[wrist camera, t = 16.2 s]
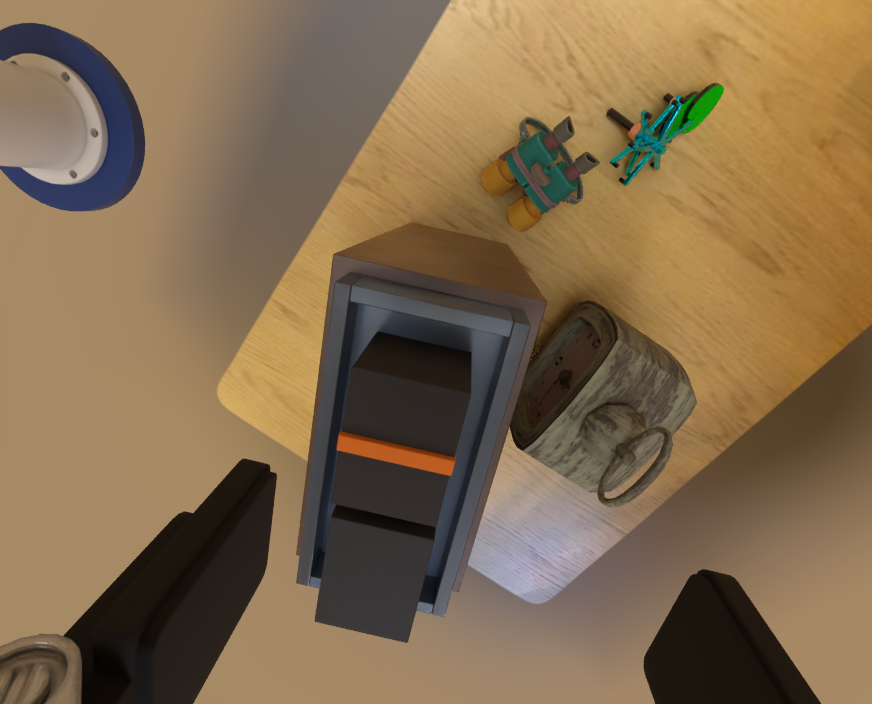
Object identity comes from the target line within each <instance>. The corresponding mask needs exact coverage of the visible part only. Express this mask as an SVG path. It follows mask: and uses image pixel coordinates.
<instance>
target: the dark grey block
mask: <svg viewBox="0 0 872 704" xmlns="http://www.w3.org/2000/svg"><path fill="white" fill-rule="evenodd" d="M435 533H436V527H433V526H429V525H425V524H420V523H416V522H412V521H407V520H403V519H398V518H394V517H390V516H385V515H381V514H377V513H372V512H368V511H363V510H359V509H355V508H350V507H346V506H342V505H337V504H336V506H335V508H334V510H333V513H332V515H331V518H330V524H329V531H328V537H327V544H326V550H325V557H324V563H323V570H322V576H321V583H320V589H319V596H318V602H317V609H316V615H315V622H319V623H323V624H327V625H332V626H336V627H340V628H345V629H349V630H354V631H358V632H362V633H366V634H371V635H375V636H379V637H384V638H389V639H392V640H397V641H401V642H406V643H407V642H408V639H409V636H410V632H411V628H412V624H413V621H414V617H415V613H416V609H417V605H418V602H419V598H420V594H421V590H422V587H423V583H424V579H425V575H426V571H427V568H428V564H429V560H430V556H431V553H432V549H433V545H434V541H435Z"/></svg>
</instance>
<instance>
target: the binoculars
mask: <svg viewBox="0 0 872 704" xmlns="http://www.w3.org/2000/svg"><path fill="white" fill-rule="evenodd" d="M526 124H530V125H532V126H534V127H536V128H538V129H539V130H540V131H542V132H537V133H536V134H534V135H533V136H532V137H530V135H529V134H528V131H527V128H526ZM519 128H520V136H521V138H520V142H519V143H518V146H517V147H513V148H511V149H510V150H508V151H507V152H505V153H504V154H502V155H501V156H500V157H499V159H497V160H496V161H495V162H493V163H492V164H491V165H490V166H488V167H487V168H486V169H484V170H483V172H482V175H481V180H482V184H483V186H484V188H485V189H486V190H487V192H489V193H490V194H491V195H493V196H501V195H503V194H504V193H505V192H506V191H507V190H508V189H509V188H510V187H511V186H513V185H514V184H515V182H519V184H520V185H521V186H522V187H523V186H524V191H523V197H522V198H521V199H519V200H518V201H516V202H514V203H513V204H511V205H510V206H509V208H508V219H509V221H510V223H511V225H512V226H513V227H514V228H515V229H517V230H518V231H526V230H528V229H529V228H530V227H532V226H533V225H534V224H535V223H537V222H538V221H539V220H540V219H541V215H542V214H543V213H544V212H548V211H549V210H550V209H551V208H554V207H556V206H557V205H558V204H559V202H561V201H562V202H565V201H566V202H567V203H568V202H569V203H571V204H574V205H575V204H577V203H578V202H580V201H581V200H582V198H583V186H582V181H581V178H580V175H581V174H585V173H587V172H588V171H590V170H591V169H592V168H594V167H595V166H597V165H598V164H600V162H599V161H598V160H597V159H596V158H595V157H594V156H592V155H591V154H590V153H588V152H585V153H583V154H582V155H581V156H579V157H578V158H577V159H575V162H573V160H572V158H571V157H570V155H569V153H568V152H567V150H566V149H565V147H564V146H563V144H562V143H565V142H566V141H567V140H568V139H570V138H571V137H572V136H573V135H574V128H573V125H572V121H571V118H570V116H568V117H567V118H566V119H564V120H563V121H562V122H561V123H560V124H558V125H557V126H556V127H555V128H554V131H553V132H552V131H551V130H550V129H549V128H548V127H547V126H546V125H545V124H543V123H542V122H540V121H539V120H536V119H534V118H531V117H527V118H525V119H524V120H523V121H522V122H521V123H520V125H519ZM521 143H522V144H521ZM555 147H556V148H557V149H556V148H555ZM557 150H558V151H559V152H560V154H561V155H562V157H563V159H564V160H565V162H566V163H565V162H563V161H559V162H558V163H557V164H555V165H554V166H553V167H551V168H550V166H551V165H552V164H553V163H554V161H555V160H556V159H557V158H558V152H557ZM574 190H576V191H577V199H576V198H574V197H573V196H572V195H570V194H571V193H572V192H573V191H574Z"/></svg>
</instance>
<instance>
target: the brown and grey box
mask: <svg viewBox="0 0 872 704" xmlns="http://www.w3.org/2000/svg"><path fill="white" fill-rule="evenodd" d="M546 305H547V301H546V299H545V298H544V297H543V295H542V294H541V292H540V291H539V289H538V288H537V286H536V285H535V284H534V282H533V281H532V279H531V278H530V276H529V275H528V273H527V272H526V271H525V269H524V268H523V266H522V265H521V263H520V262H519V260H518V259H517V258H516V256H515V255H514V253H513V252H512V250H511V249H510V247H509V246H508V245H507V244H504V243H500V242H495V241H491V240H486V239H482V238H477V237H473V236H468V235H464V234H459V233H455V232H450V231H446V230H441V229H437V228H433V227H428V226H424V225H419V224H415V223H408V224H406V225H403V226H401V227H398V228H396V229H394V230H391V231H389V232H386V233H384V234H381V235H379V236H376V237H374V238H372V239H369V240H367V241H364V242H362V243H359V244H357V245H355V246H352V247H350V248H347V249H345V250H342V251H340V252H337V253H335V254H333V261H332V270H331V278H330V286H329V294H328V302H327V310H326V318H325V326H324V334H323V342H322V350H321V358H320V366H319V374H318V382H317V391H316V399H315V407H314V415H313V423H312V431H311V439H310V447H309V455H308V463H307V471H306V480H305V487H304V496H303V504H302V513H301V520H300V528H299V536H298V545H297V552H296V555H298V556H300V558H299V565H298V572H297V581H296V583H298V584H302V585H306V586H311V587H315V588H319V589H320V583H321V576H322V570H323V563H324V557H325V550H326V544H327V537H328V531H329V524H330V518H331V515H332V513H333V510H334V508H335V506H336V504H333V503H331V499H332V492H333V485H334V479H335V472H336V466H337V459H338V453H339V451H338V450H337V442H338V435H339V434H340V432H341V430H342V426H343V420H344V413H345V407H346V400H347V393H348V387H349V380H350V374H351V367H352V366H353V364H354V363H355V362H356V360H357V359H358V357H359V356H360V355H361V353H362V352H363V350H364V349H365V348H366V346H367V345H368V344H369V342H370V341H371V339H372V338H373V337H374V335H375V334H376V332H378V331H379V332H383V333H387V334H392V335H396V336H401V337H405V338H410V339H414V340H418V341H423V342H427V343H432V344H436V345H441V346H445V347H449V348H454V349H458V350H463V351H467V352H471V353H472V371H471V397H470V401H469V404H468V408H467V412H466V416H465V420H464V423H463V427H462V431H461V435H460V439H459V442H458V446H457V450H456V454H455V455H456V459H455V465H454V469H453V473H452V475H451V476H450V477H449V480H448V484H447V488H446V492H445V496H444V499H443V503H442V507H441V511H440V515H439V518H438V522H437V526H436V533H435V541H434V545H433V549H432V553H431V556H430V560H429V564H428V568H427V571H426V575H425V579H424V583H423V587H422V590H421V594H420V598H419V602H418V605H417V609H416V611H419V612H424V613H428V614H431V613H432V614H433V615H437V616H441V617H444V616H445V613H446V610H447V606H448V603H449V599H450V596H451V593H452V591H455V592H459V589H460V586H461V583H462V580H463V576H464V573H465V570H466V567H467V563H468V560H469V557H470V554H471V550H472V547H473V544H474V541H475V537H476V534H477V531H478V527H479V524H480V521H481V518H482V514H483V511H484V508H485V505H486V501H487V498H488V495H489V491H490V488H491V485H492V482H493V478H494V475H495V472H496V469H497V465H498V462H499V459H500V456H501V452H502V449H503V446H504V442H505V439H506V436H507V433H508V429H509V426H510V423H511V420H512V416H513V413H514V410H515V407H516V403H517V400H518V397H519V393H520V390H521V387H522V384H523V380H524V377H525V374H526V371H527V367H528V364H529V361H530V357H531V354H532V351H533V348H534V344H535V341H536V338H537V335H538V331H539V328H540V325H541V322H542V318H543V315H544V312H545V308H546Z"/></svg>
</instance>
